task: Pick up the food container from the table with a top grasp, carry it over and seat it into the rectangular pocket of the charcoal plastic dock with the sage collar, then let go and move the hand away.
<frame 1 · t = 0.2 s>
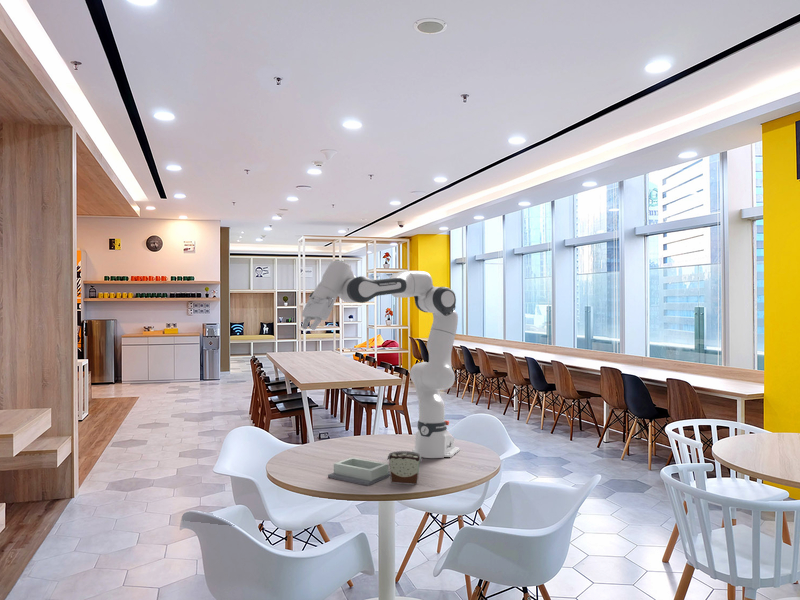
hand: (307, 328, 206), 54 cm above the table, tool tilted 30°, fingers open, 8 cm apart
dock: (361, 476, 199), on the table
food container: (405, 481, 193), on the table
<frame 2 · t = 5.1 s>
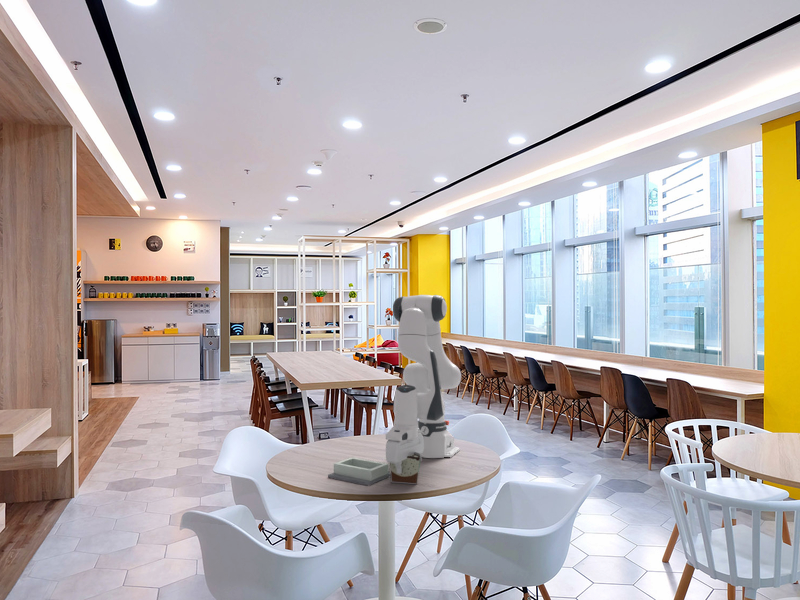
hand: (405, 470, 193), 4 cm above the table, tool pointing down, fingers closed on food container, 6 cm apart
food container: (406, 481, 193), on the table, touching gripper
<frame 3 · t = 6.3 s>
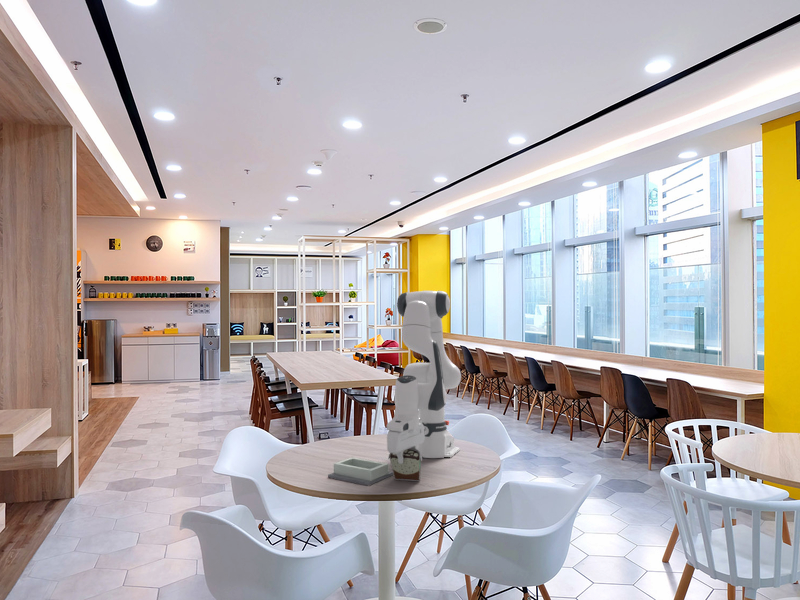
hand: (406, 460, 194), 7 cm above the table, tool pointing down, fingers closed on food container, 6 cm apart
food container: (409, 476, 196), point 1 cm above the table, touching gripper
when the fingers open (7 cm above the table, at t = 11.3 s): food container drops 3 cm, resting on dock.
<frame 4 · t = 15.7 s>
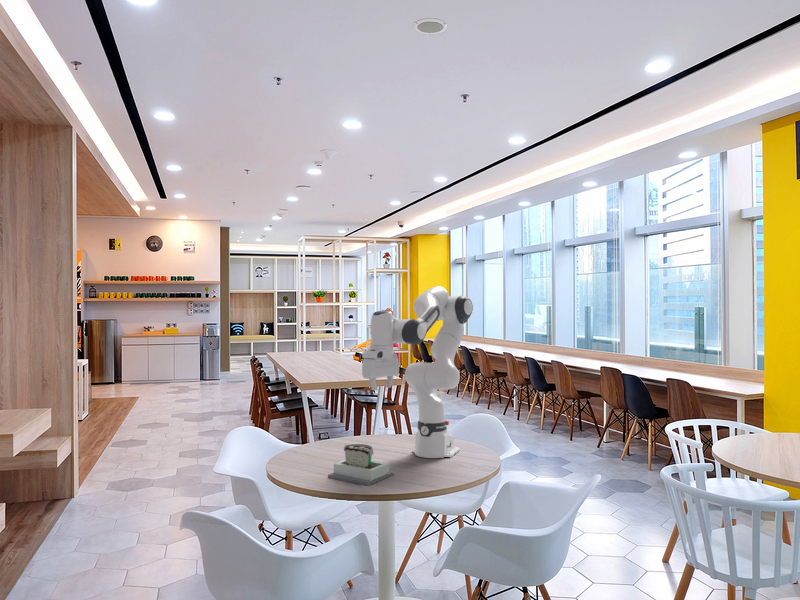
hand: (381, 388, 207), 31 cm above the table, tool pointing down, fingers open, 8 cm apart
food container: (361, 473, 199), point 1 cm above the table, touching dock
at the end: food container 0.3 cm off-centre on the dock, point 0.8 cm above the dock's base; food container tilted 0°; the gripper is holding nothing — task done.
